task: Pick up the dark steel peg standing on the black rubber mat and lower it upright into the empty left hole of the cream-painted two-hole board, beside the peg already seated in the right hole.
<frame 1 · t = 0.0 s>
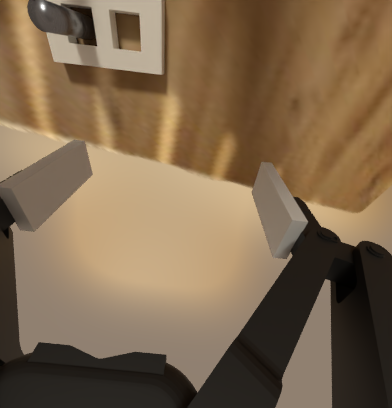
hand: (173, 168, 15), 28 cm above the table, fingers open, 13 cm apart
hole board: (109, 30, 32), on the table
seated peg: (87, 27, 32), resting in hole board
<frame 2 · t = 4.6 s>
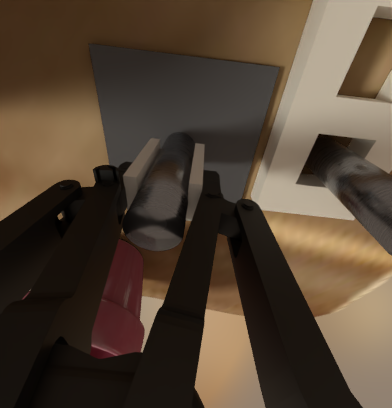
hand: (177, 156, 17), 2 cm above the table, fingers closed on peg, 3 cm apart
peg: (179, 148, 18), resting on mat, touching gripper
plant pot: (114, 256, 29), on the table
hole board: (338, 112, 16), on the table
mat: (180, 146, 19), on the table
seated peg: (319, 152, 18), resting in hole board
when the fingers open (4 cm above the table, at t = 8.8 s): peg stays where it is, resting in hole board.
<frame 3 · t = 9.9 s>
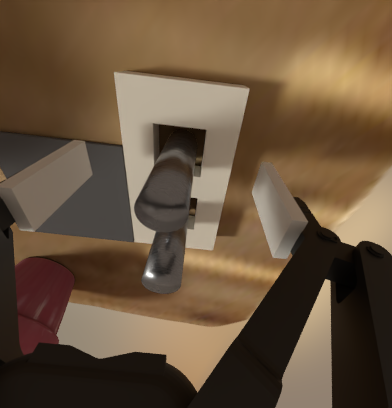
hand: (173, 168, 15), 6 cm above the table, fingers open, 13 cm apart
peg: (182, 144, 20), resting in hole board
plant pot: (49, 272, 35), on the table
hole board: (179, 174, 22), on the table
mat: (72, 194, 24), on the table
seated peg: (178, 199, 24), resting in hole board
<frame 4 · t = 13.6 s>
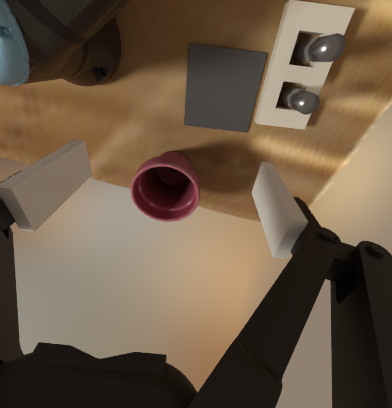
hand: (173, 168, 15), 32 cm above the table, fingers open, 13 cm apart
peg: (301, 51, 35), resting in hole board
plant pot: (173, 168, 50), on the table
hole board: (293, 73, 37), on the table
mat: (221, 92, 40), on the table
seated peg: (286, 94, 39), resting in hole board
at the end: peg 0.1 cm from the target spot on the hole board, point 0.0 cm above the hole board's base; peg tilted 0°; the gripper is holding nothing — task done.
